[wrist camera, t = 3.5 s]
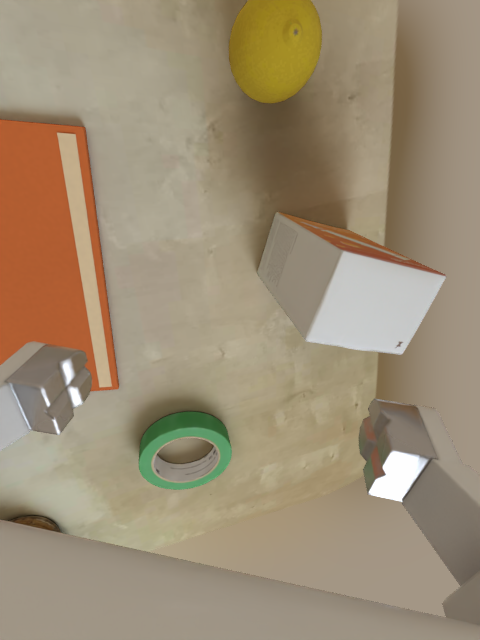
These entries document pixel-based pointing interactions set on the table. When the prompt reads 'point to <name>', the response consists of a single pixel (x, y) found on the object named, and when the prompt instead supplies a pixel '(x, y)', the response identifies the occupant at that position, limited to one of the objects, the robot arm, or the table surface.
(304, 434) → the table surface
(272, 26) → the lemon
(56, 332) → the towel
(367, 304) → the small box
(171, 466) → the tape roll
